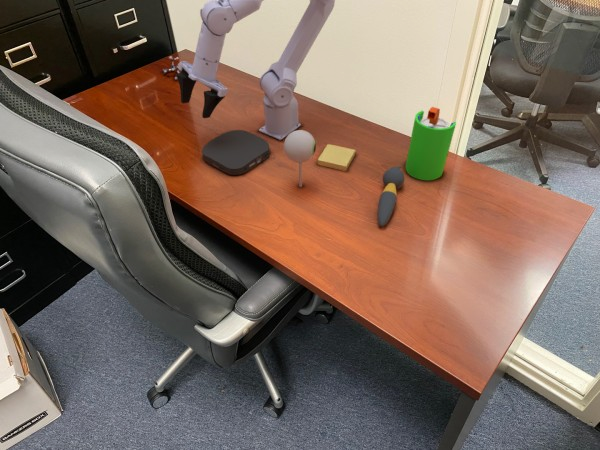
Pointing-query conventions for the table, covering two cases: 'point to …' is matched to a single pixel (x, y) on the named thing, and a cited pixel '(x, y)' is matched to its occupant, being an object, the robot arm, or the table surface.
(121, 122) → the table surface
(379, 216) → the grey microphone
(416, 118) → the green upright cylinder
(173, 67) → the molecule model
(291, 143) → the lollipop
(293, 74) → the robot arm
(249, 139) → the media streaming box
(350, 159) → the sticky note pad
